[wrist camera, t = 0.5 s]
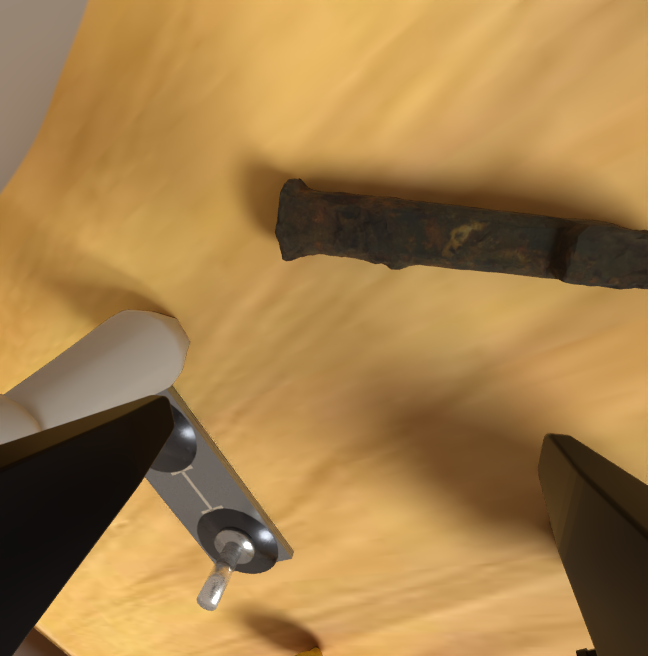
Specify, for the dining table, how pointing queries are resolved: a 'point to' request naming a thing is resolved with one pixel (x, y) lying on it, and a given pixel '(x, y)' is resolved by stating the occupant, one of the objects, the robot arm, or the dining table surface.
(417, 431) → the dining table surface
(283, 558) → the plate
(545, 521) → the dining table surface
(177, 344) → the salt shaker
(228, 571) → the fixed steel pin
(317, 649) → the lemon
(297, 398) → the dining table surface
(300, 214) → the hand tool
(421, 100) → the dining table surface
